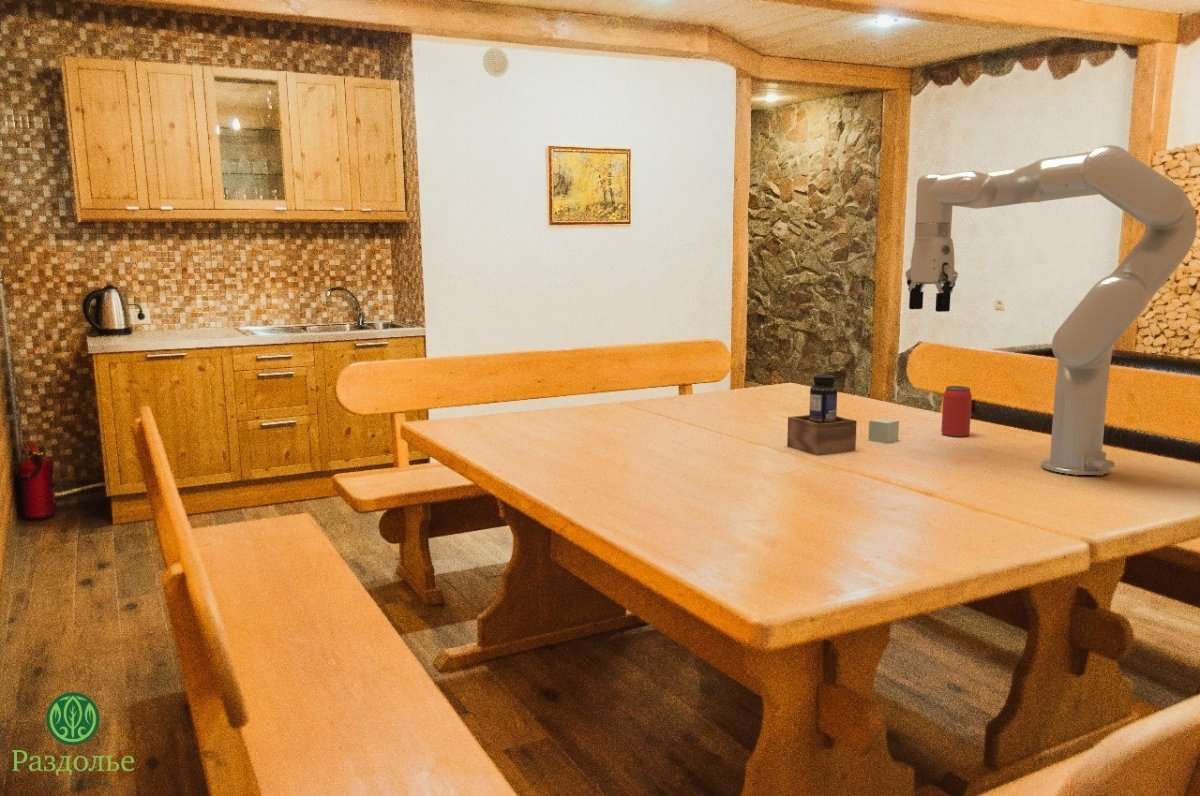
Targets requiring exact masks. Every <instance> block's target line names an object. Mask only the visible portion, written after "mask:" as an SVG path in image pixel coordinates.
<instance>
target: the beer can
mask: <svg viewBox="0 0 1200 796" xmlns="http://www.w3.org/2000/svg"><path fill="white" fill-rule="evenodd" d="M970 389H971V387H968V386H964V385H962V386H961V385H950V386H949V385H948V386H946V387H945V390H944V393H943V395H942V410H941V411H942V413H941V414H942V415H941V429H940V430H941V433H942V435H943V436H946V437H951V436H952V438H953V437H954V438H965V437H968V436H969V435H970V433H971V432H970V431H971V417H972V415H971V413H972V400H973V398H972V397H973V396H972V392H971V390H970Z"/></svg>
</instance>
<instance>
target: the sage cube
mask: <svg viewBox="0 0 1200 796" xmlns="http://www.w3.org/2000/svg"><path fill="white" fill-rule="evenodd" d="M899 424H900V421H899V420H897V419H888V418H883V417H882V418H881V417H880V418H875V419H871V420H869V421H868V440H867V441H869V442H870V441H871V442H876V443H882V444H890V443H894V442H898V441H899V430H900V428H899V427H900V426H899Z"/></svg>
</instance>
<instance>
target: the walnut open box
mask: <svg viewBox="0 0 1200 796" xmlns="http://www.w3.org/2000/svg"><path fill="white" fill-rule="evenodd" d="M857 422H858V421H857V420H855V419H850V418H847V417H842V416H838V415H836V422H830V423H820V424H818V423H814V422H810V421H809V414H806V415H796V416H788V417H787V439H786V440H787V444H786V446H787V447H789V448H792V449H796V450H799V451H802V452H805V453H809V454H812V455H815V456H822V455H830V454H839V453H846V452H847V453H848V452H855V451H856V447H857V446H856V443H857Z"/></svg>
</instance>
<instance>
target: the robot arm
mask: <svg viewBox="0 0 1200 796" xmlns="http://www.w3.org/2000/svg"><path fill="white" fill-rule="evenodd" d="M916 183H917V184H916V201H915V221H914V222H915V224H914V241H913V247H912V252H911V260H910V268H909V269H907V270H906V271H905V278H906V284H907V286H908V289H907V290H908V292H909V301H908V302H909V303H908V309H909V310H922V309H923V308H924V306H923V305H924V290H923V288H924V287H925V285H935V287H936V290H937V293H936V294H935V312H936V313H937V312H939V313H940V312H941V313H942V312H943V313H945V312H950V309H951V296H952V295H951V294H952V293H953V291H954V290H953V289H954V287H956V281H957V279H958V276H959V273H958V271H956V270H955V250H954V249H955V248H954V242H953V238H952V237H951V236H952V222H953V221H952V219H953V207H954V206H955V207H963V208H968V209H969V208H970V209H975V210H976V209H979V210H980V209H987V208H998V207H1006V206H1012V205H1019V204H1027V203H1041V202H1042V203H1043V202H1047V201H1054V200H1062V199H1063V200H1064V199H1070V198H1079V197H1087V196H1096V195H1097V196H1098V195H1100V196H1102V197H1103V198H1104V199H1106V200H1107V201H1108V202H1110V203H1112V205H1114V206H1116V207H1117V208H1119V209H1120V210H1122V211H1123V212H1125V213H1126V214H1127V215H1129V216H1131V217H1132V218H1134V219H1135V220H1136V221H1138V222H1139V223H1141V224H1142V225H1145V229H1144V232H1143V234H1142V236H1141V238H1140V239H1139V240H1138V241H1137V243H1136V244H1135V245H1134V247H1132V248H1131V250H1130V251H1129V253H1128V254H1127V255H1126V257H1124V259H1123V261H1121V263H1120V264H1119V265H1118V266H1117V267H1116V268H1115V269H1114V270H1113V272H1112V273H1111V274H1110V275H1107V276H1105V277H1103V278H1101V279H1100V280H1098V281H1097V282H1096V283H1095V284H1094V285H1093V286H1092V288H1091V289H1090V290H1089V291H1088V292H1087V293H1086V295H1085V296H1084V297H1083V299H1082V300H1081V301H1080V302H1079V304H1077V305H1076V307H1075V308H1074V309H1073V310H1072V311H1071V313H1069V315H1068V317H1067V318H1065V320H1064V321H1063V323H1061V325H1060V326H1059V327H1058V328H1057V330H1056V331H1055V333H1054V335H1053V336H1052V337H1053V338H1052V340H1051V341H1052V342H1051V349H1052V353H1053V356H1054V357H1055V359H1056V360H1057V361H1058V362H1057V369H1056V376H1055V389H1054V396H1053V397H1054V399H1053V410H1052V411H1053V412H1052V422H1051V423H1052V426H1051V427H1052V428H1051V439H1050V450H1049V451H1050V452H1049V457H1048V458H1044V459H1042V460H1041V462H1040V463H1041V464H1040V466H1042V467H1041V468H1042V469H1044V468H1045V469H1044V470H1046V469H1047V470H1046V471H1049V470H1051V471H1050V472H1052V471H1055V472H1054V473H1056V472H1060V473H1059V474H1061V473H1067V474H1066V475H1068V474H1077V475H1101V476H1104V475H1103V474H1106V475H1108V474H1109V473H1110V469H1112V468H1114V467H1115V461H1114V460H1109V459H1106V458H1107V452H1106V451H1103V446H1104V437H1105V436H1104V435H1105V433H1104V432H1105V423H1106V408H1107V398H1108V389H1109V382H1110V381H1109V379H1110V370H1111V363H1112V357H1113V350H1114V349H1113V347H1114V344H1115V343H1116V342H1117V341H1118V339H1119V338H1120V337H1121V336H1122V335H1123V334H1124V332H1125V331H1126V330H1127V329H1128V328H1129V327H1130V326H1131V324H1132V323H1133V322H1135V320H1136V319H1137V318H1138V317H1139V316H1141V314H1142V313H1143V312H1144V311H1145V310H1146V308H1147V307H1148V305H1149V303H1150V301H1152V299H1153V298H1154V296H1155V295H1156V294H1157V293H1158V291H1160V289H1161V288H1162V287H1163V285H1165V283H1166V282H1167V281H1168V280H1169V278H1170V277H1171V275H1173V273H1174V272H1175V271H1176V269H1177V268H1178V267H1179V266H1180V264H1182V262H1183V261H1184V260H1185V258H1186V256H1187V255H1188V254H1189V252H1190V250H1191V248H1192V246H1193V245H1194V242H1195V239H1196V235H1197V227H1198V221H1197V214H1196V211H1195V209H1194V207H1193V204H1192V202H1191V200H1190V198H1189V196H1188V195H1187V193H1186V192H1185V190H1184V189H1182V188H1181V186H1179V185H1178V184H1177V183H1175V182H1173V181H1172V180H1170V179H1168V178H1167V177H1165V176H1164V175H1163V174H1160V173H1159V172H1157V171H1156V170H1154V169H1153V168H1151V167H1150V166H1148V165H1147V164H1145V163H1144V162H1142V161H1141V160H1140V159H1138V158H1136V157H1135V156H1133V155H1132V153H1129V152H1128V151H1127V150H1125V149H1124V148H1122V147H1121V146H1118V145H1111V144H1109V145H1107V144H1106V145H1102V146H1099V147H1096V148H1095V149H1092V150H1091V151H1088V152H1087V151H1086V152H1082V153H1076V154H1075V153H1074V154H1068V155H1066V154H1065V155H1060V156H1052V157H1046V158H1041V159H1038V160H1036V161H1034V162H1032V163H1031V164H1028V165H1025V166H1023V167H1019V168H1015V169H1008V170H1002V171H1001V170H1000V171H995V172H989V173H988V172H987V173H983V172H979V171H975V170H965V171H960V172H955V173H954V172H953V173H947V174H944V173H933V174H924V175H921V176H920V177H919V178H918V180H917V182H916ZM1107 473H1108V474H1107ZM1077 475H1076V476H1077Z"/></svg>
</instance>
